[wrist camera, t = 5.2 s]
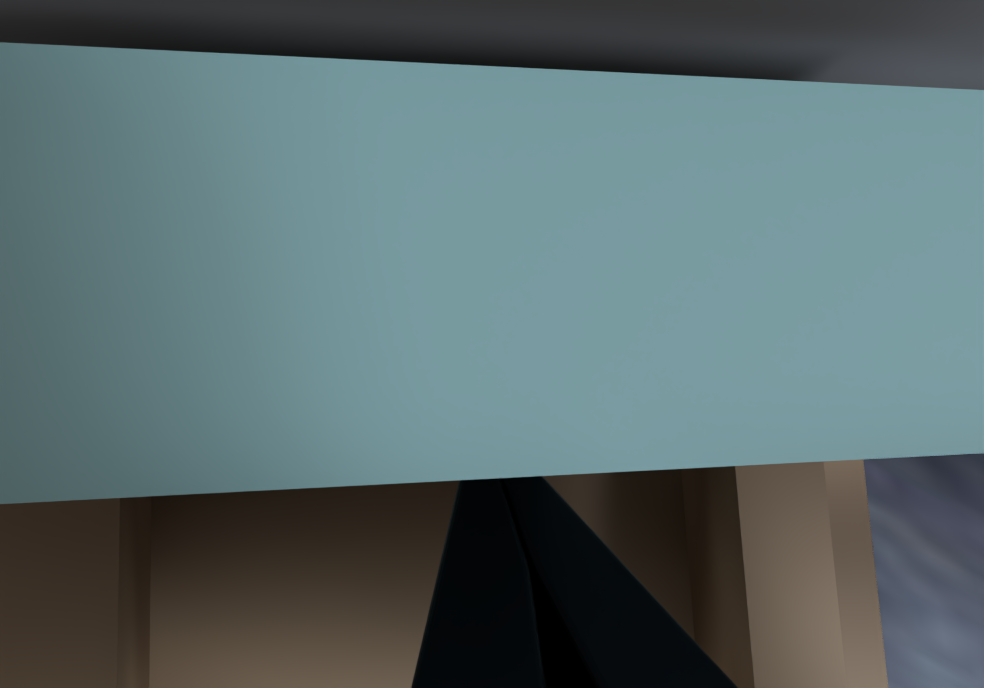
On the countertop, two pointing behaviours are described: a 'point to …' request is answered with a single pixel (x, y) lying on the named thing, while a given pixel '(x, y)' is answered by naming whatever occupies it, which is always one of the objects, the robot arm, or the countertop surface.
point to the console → (428, 505)
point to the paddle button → (472, 272)
